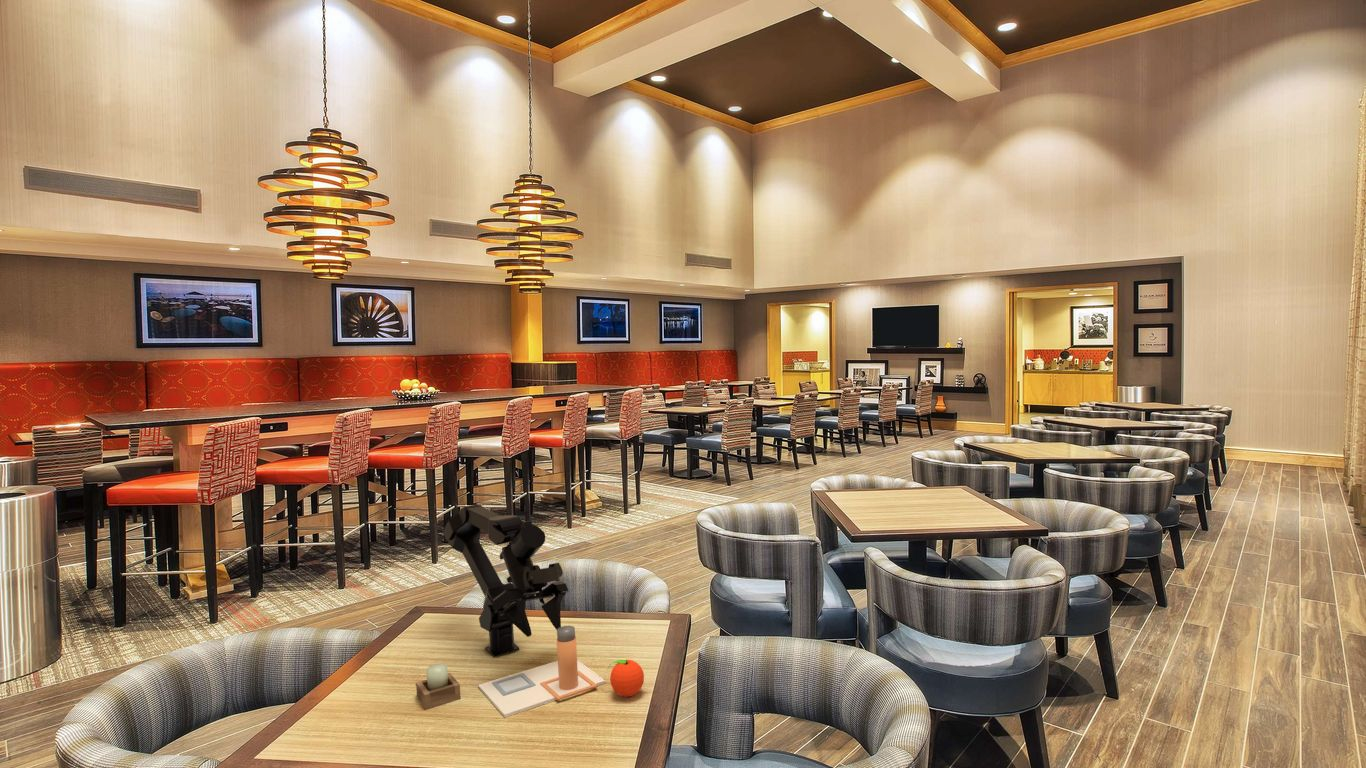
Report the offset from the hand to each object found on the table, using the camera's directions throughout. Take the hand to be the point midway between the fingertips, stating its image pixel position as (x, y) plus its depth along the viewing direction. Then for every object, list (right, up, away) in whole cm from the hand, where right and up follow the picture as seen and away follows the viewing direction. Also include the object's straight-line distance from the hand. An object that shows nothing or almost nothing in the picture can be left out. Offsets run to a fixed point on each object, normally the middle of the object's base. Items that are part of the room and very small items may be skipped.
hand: (544, 632), depth 149 cm
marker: (+6, -9, -6) cm, 13 cm away
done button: (-21, -8, -8) cm, 24 cm away
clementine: (+19, -9, -10) cm, 23 cm away
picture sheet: (0, -10, -4) cm, 11 cm away
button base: (-21, -11, -8) cm, 24 cm away
